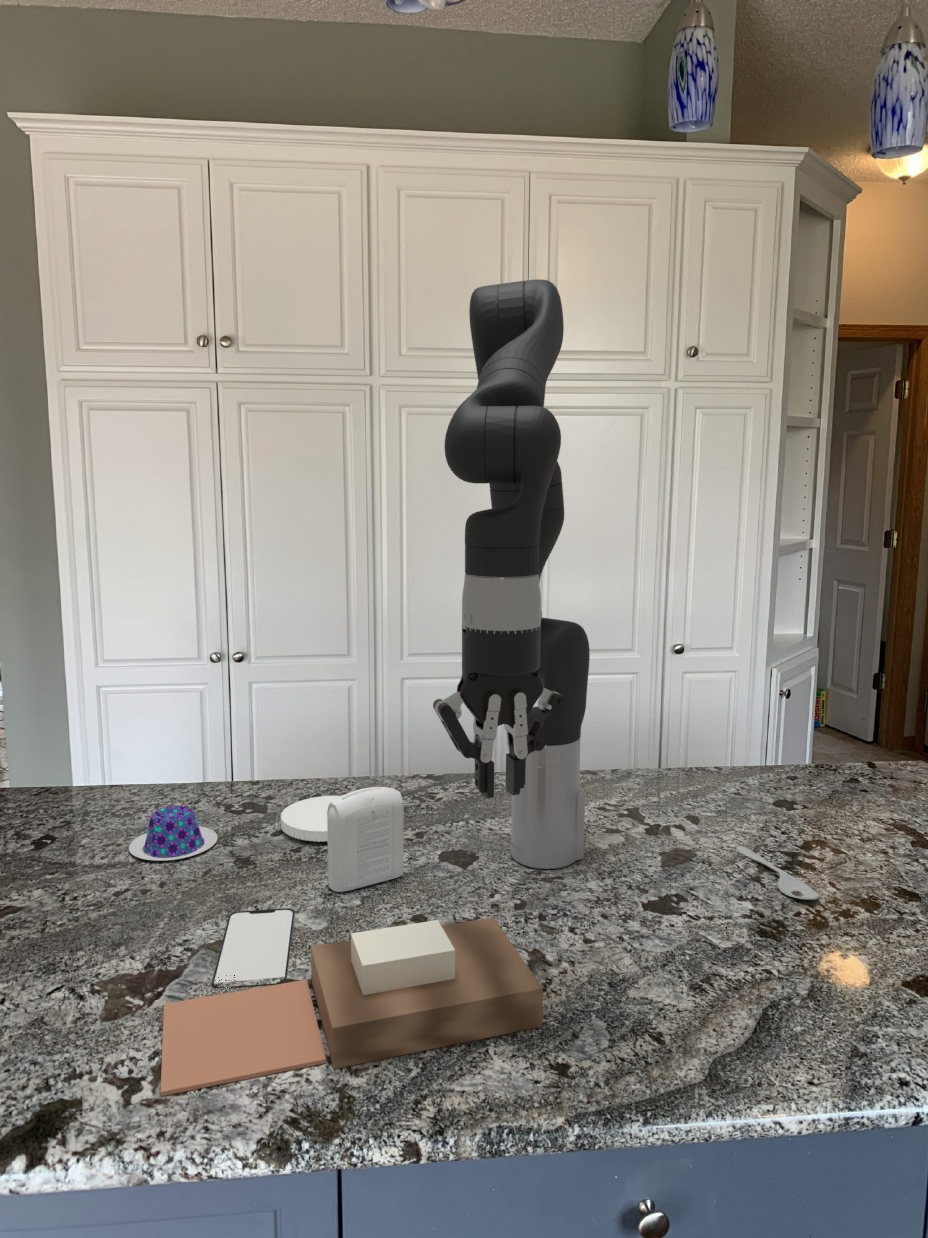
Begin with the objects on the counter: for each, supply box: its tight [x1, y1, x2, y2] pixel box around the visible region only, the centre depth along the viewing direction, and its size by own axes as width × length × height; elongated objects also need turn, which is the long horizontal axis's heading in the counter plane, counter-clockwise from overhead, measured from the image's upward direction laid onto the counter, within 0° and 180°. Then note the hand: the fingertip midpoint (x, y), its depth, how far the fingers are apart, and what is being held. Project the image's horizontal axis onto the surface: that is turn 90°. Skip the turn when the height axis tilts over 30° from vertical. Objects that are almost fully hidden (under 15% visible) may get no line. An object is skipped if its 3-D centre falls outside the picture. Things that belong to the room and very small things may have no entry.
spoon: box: [736, 845, 820, 900], centre depth 116 cm, size 4×21×2 cm, turn 12°
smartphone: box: [210, 907, 296, 990], centre depth 97 cm, size 8×1×16 cm
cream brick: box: [350, 919, 455, 995], centre depth 85 cm, size 9×6×3 cm, turn 108°
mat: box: [160, 979, 327, 1097], centre depth 81 cm, size 14×13×1 cm
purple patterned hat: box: [128, 805, 219, 862], centre depth 123 cm, size 12×12×5 cm
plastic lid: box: [280, 795, 342, 843], centre depth 130 cm, size 14×14×2 cm
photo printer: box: [327, 786, 405, 893], centre depth 111 cm, size 10×4×12 cm, turn 123°
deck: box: [310, 917, 544, 1070], centre depth 86 cm, size 20×14×4 cm
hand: (499, 793), depth 85 cm, fingers closed
